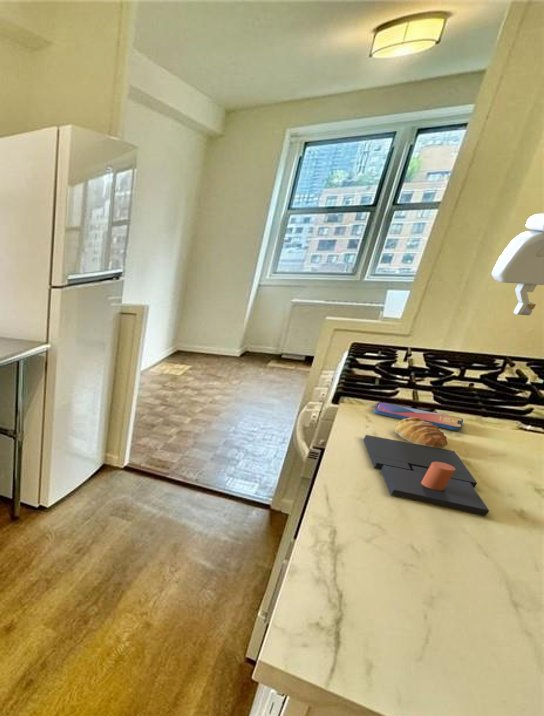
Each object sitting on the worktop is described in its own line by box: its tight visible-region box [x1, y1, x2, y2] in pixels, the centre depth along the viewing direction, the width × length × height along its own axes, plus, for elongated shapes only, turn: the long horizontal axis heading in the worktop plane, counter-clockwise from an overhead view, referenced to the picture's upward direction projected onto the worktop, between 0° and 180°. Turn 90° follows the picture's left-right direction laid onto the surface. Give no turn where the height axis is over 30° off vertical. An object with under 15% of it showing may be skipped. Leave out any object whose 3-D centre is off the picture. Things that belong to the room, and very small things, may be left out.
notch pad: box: [363, 434, 478, 489], centre depth 93 cm, size 14×14×1 cm
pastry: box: [393, 417, 449, 449], centre depth 100 cm, size 9×7×4 cm
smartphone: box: [373, 401, 464, 432], centre depth 111 cm, size 7×15×1 cm, turn 45°
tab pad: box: [380, 462, 490, 517], centre depth 84 cm, size 12×12×5 cm
